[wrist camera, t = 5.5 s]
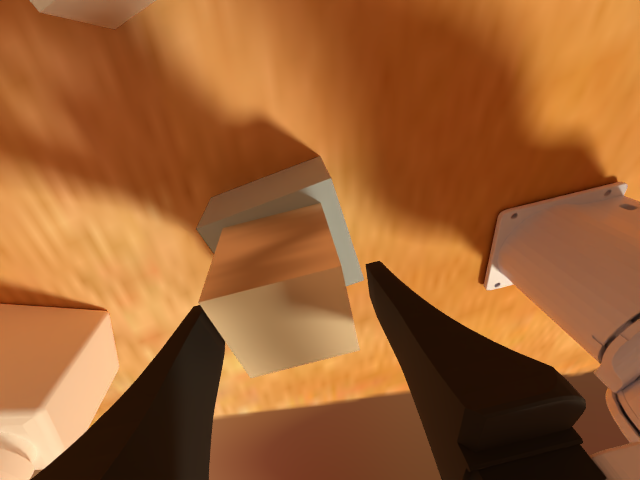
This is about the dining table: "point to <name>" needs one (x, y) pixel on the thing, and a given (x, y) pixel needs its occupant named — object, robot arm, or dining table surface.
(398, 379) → the dining table surface
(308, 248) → the maple cube
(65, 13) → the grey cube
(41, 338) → the medicine bottle
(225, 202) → the slate block
